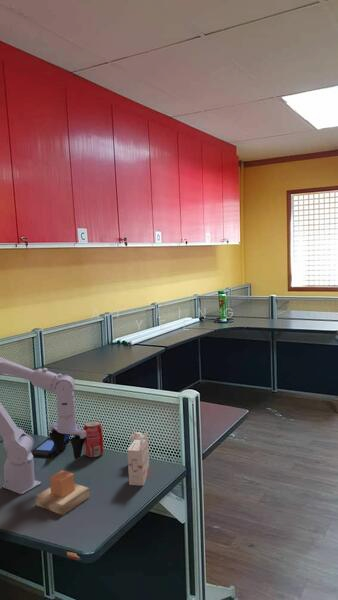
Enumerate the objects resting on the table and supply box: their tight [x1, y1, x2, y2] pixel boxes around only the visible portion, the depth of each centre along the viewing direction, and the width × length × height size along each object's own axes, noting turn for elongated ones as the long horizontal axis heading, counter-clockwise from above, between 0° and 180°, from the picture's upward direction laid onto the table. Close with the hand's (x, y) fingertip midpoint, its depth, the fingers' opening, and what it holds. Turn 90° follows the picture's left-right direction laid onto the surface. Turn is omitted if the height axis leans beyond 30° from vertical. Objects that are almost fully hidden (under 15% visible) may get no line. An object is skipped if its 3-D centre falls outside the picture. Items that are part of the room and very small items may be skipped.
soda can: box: [83, 419, 104, 458], centre depth 169 cm, size 7×7×12 cm
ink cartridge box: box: [126, 431, 150, 487], centre depth 149 cm, size 9×5×15 cm, turn 168°
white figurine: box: [129, 428, 144, 443], centre depth 161 cm, size 9×4×12 cm, turn 36°
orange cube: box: [49, 469, 76, 497], centre depth 137 cm, size 5×5×5 cm
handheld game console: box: [31, 420, 78, 459], centre depth 175 cm, size 16×13×9 cm
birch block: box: [35, 483, 90, 516], centre depth 137 cm, size 11×11×4 cm
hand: (69, 455), depth 147 cm, fingers open, 7 cm apart
